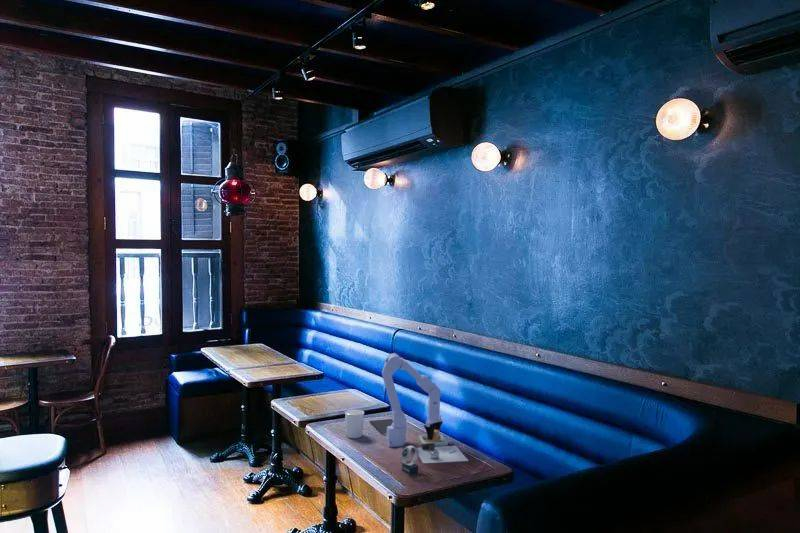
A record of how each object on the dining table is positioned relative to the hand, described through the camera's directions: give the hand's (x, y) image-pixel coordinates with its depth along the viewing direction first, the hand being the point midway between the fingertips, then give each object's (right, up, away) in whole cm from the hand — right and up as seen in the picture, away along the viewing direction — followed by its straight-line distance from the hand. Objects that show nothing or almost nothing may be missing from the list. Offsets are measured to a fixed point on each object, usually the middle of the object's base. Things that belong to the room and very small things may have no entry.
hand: (433, 437), depth 269 cm
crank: (-2, -2, -16) cm, 17 cm away
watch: (-12, -4, -35) cm, 37 cm away
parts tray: (0, -3, 0) cm, 3 cm away
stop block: (0, -3, 0) cm, 3 cm away
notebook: (-23, -3, +23) cm, 33 cm away
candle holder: (-40, -2, +9) cm, 41 cm away
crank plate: (+2, -4, -16) cm, 17 cm away
